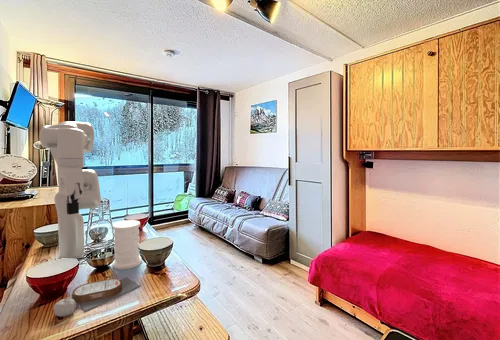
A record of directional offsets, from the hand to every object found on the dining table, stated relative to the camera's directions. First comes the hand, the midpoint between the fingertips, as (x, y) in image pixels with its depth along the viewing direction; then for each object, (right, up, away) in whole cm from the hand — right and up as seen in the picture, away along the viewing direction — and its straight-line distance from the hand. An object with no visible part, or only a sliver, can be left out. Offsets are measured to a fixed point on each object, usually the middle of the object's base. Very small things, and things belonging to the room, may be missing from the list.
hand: (73, 213), depth 89 cm
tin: (+10, -25, 0) cm, 27 cm away
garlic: (+8, -29, -14) cm, 33 cm away
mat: (+14, -28, -2) cm, 31 cm away
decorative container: (+10, -26, +20) cm, 34 cm away
